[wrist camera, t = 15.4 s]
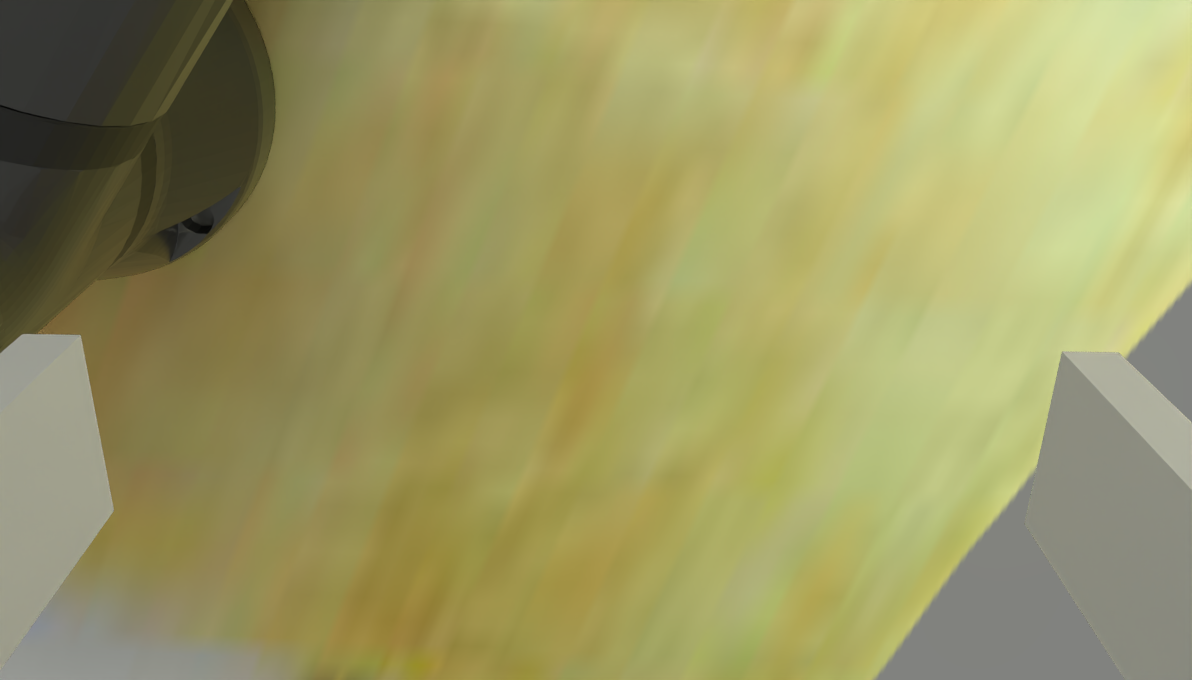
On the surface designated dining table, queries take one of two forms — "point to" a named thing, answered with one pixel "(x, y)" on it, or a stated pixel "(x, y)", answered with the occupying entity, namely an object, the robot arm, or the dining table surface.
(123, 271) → the robot arm
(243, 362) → the dining table surface
